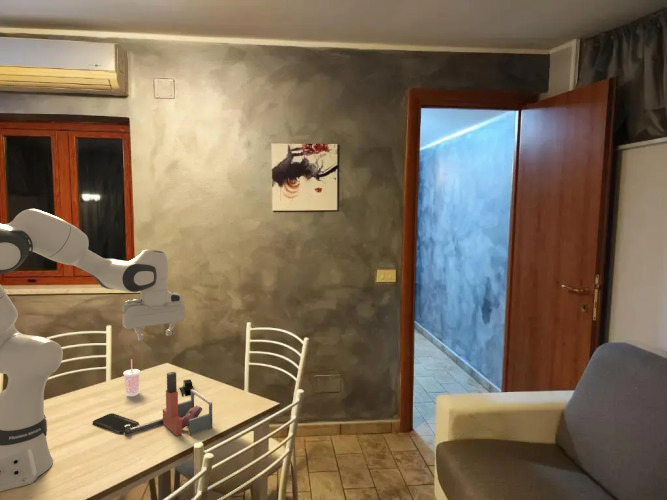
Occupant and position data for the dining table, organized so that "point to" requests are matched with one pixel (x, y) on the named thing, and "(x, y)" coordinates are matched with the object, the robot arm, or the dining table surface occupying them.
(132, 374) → the beverage cup
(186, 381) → the black piece
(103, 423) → the phone
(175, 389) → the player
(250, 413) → the dining table surface
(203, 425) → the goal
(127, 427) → the rail
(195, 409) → the video game controller
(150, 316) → the robot arm
